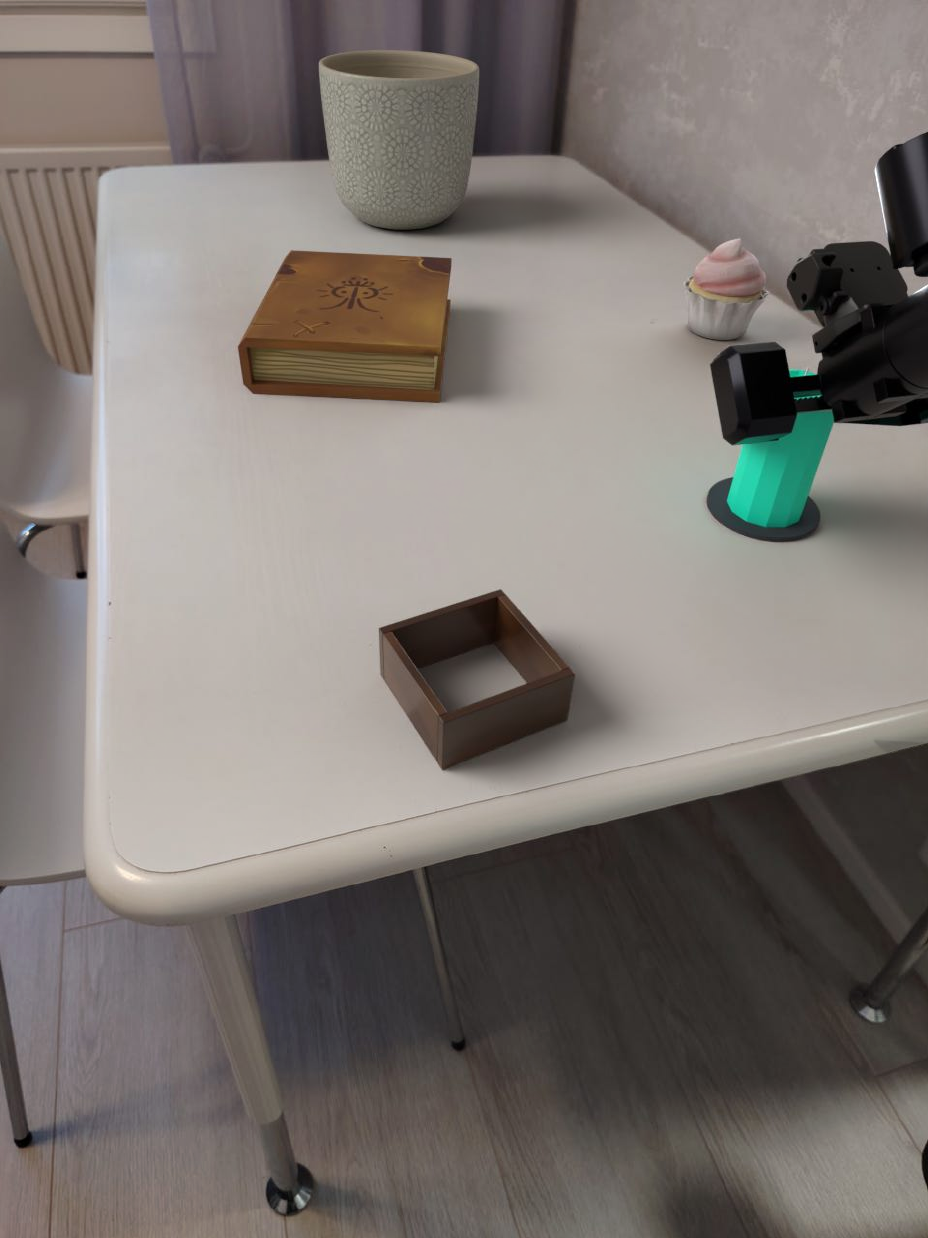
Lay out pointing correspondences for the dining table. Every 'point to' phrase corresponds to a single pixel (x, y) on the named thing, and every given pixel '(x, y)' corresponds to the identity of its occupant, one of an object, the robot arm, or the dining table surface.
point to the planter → (399, 133)
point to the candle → (780, 470)
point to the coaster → (732, 521)
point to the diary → (350, 328)
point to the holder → (487, 718)
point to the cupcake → (725, 292)
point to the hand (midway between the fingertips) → (777, 420)
